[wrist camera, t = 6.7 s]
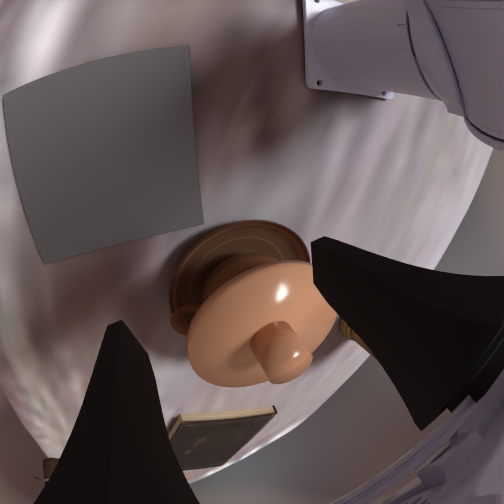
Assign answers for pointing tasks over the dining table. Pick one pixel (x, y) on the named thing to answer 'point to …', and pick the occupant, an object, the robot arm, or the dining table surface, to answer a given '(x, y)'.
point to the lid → (260, 326)
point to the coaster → (106, 152)
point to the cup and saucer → (227, 262)
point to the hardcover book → (215, 435)
